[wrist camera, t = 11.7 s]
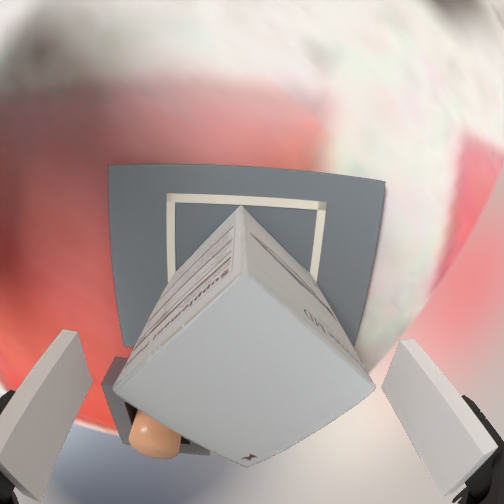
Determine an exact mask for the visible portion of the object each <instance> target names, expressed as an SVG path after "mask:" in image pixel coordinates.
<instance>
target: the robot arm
mask: <svg viewBox="0 0 504 504" xmlns="http://www.w3.org/2000/svg"><path fill="white" fill-rule="evenodd" d="M92 383H93V381H92V378H91V375H90V372H89V369H88V366H87V363H86V359H85V356H84V352H83V349H82V345H81V342H80V338H79V334H78V332H76V331H70V330H64V329H63V330H62V331H61V332H60V334H59V335H58V336H57V337H56V339H55V340H54V341H53V342H52V344H51V345H50V346H49V347H48V349H47V350H46V351H45V353H44V354H43V355H42V356H41V358H40V359H39V360H38V362H37V363H36V364H35V366H34V367H33V368H32V370H31V371H30V373H29V374H28V375H27V377H26V378H25V380H24V381H23V382H22V384H21V385H20V387H19V388H18V389H17V391H13V390H10V391H8V392H7V393H6V394H4V395H3V396H2V397H1V398H0V504H19V502H18V500H17V497H16V495H15V493H14V492H13V490H14V487H16V488H17V489H18V490H19V491H21V492H22V493H23V494H24V495H26V496H28V497H30V498H32V499H35V500H37V501H39V502H41V499H42V497H43V494H44V492H45V489H46V486H47V484H48V481H49V478H50V476H51V473H52V471H53V468H54V466H55V463H56V461H57V459H58V456H59V453H60V451H61V449H62V447H63V444H64V442H65V440H66V438H67V435H68V433H69V431H70V429H71V426H72V424H73V422H74V420H75V418H76V416H77V414H78V411H79V409H80V407H81V405H82V403H83V401H84V399H85V397H86V395H87V393H88V391H89V389H90V387H91V385H92ZM382 390H383V391H384V393H385V395H386V397H387V398H388V400H389V402H390V404H391V405H392V407H393V409H394V411H395V413H396V414H397V416H398V418H399V420H400V422H401V423H402V425H403V427H404V429H405V431H406V433H407V434H408V436H409V438H410V440H411V442H412V444H413V446H414V447H415V449H416V451H417V453H418V455H419V457H420V459H421V461H422V463H423V465H424V466H425V469H426V471H427V473H428V474H429V476H430V478H431V480H432V482H433V484H434V486H435V488H436V490H437V492H438V494H439V497H440V498H442V497H444V496H447V495H448V494H450V493H453V492H454V491H456V490H457V489H458V488H459V487H460V486H461V485H463V484H464V483H465V484H466V486H467V487H466V488H464V489H463V490H462V491H461V492H460V493H459V494H458V495H457V496H456V497H455V498H454V499H453V501H452V503H454V502H456V501H457V500H458V499H459V498H460V497H462V498H461V500H460V501H459V502H458V504H504V441H503V440H502V439H501V437H500V436H499V434H498V433H497V432H496V430H495V429H494V428H493V426H492V425H491V424H490V422H489V421H488V420H487V419H485V418H486V417H485V416H484V414H483V413H482V412H480V409H479V408H478V407H477V405H476V404H475V403H474V402H473V401H472V400H470V399H469V398H468V397H466V396H465V395H463V396H460V394H459V393H458V392H457V391H456V389H455V388H454V387H453V386H452V384H451V383H450V382H449V380H448V379H447V378H446V377H445V376H444V374H443V373H442V372H441V371H440V369H439V368H438V367H437V366H436V364H435V363H434V362H433V361H432V360H431V358H430V357H429V356H428V355H427V354H426V352H425V351H423V349H422V348H421V347H420V345H419V344H418V343H417V342H416V341H415V340H414V339H405V340H400V341H399V343H398V346H397V349H396V352H395V354H394V357H393V360H392V362H391V365H390V367H389V370H388V372H387V375H386V377H385V380H384V382H383V384H382Z"/></svg>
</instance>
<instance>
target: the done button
mask: <svg viewBox="0 0 504 504" xmlns="http://www.w3.org/2000/svg"><path fill="white" fill-rule="evenodd" d="M180 441H181V435H180V434H178V433H176V432H174V431H172V430H171V429H169V428H167V427H166V426H164V425H162V424H160V423H159V422H157V421H156V420H154V419H152V418H151V417H149V416H148V415H146V414H145V413H143V412H142V411H140V410H137V413H136V416H135V419H134V422H133V425H132V428H131V432H130V435H129V442H130V444H131V446H132V447H133V448H135V449H136V450H137V451H138V452H140V453H142V454H144V455H146V456H149V457H152V458H157V459H170V458H173V457H175V456H177V455H178V453H179V448H180Z"/></svg>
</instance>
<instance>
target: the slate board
mask: <svg viewBox="0 0 504 504" xmlns="http://www.w3.org/2000/svg"><path fill="white" fill-rule="evenodd" d="M384 189H385V181H381V180H374V179H368V178H361V177H353V176H346V175H338V174H329V173H321V172H311V171H301V170H290V169H278V168H265V167H250V166H231V165H203V164H131V165H109V166H108V205H109V230H110V245H111V258H112V268H113V278H114V287H115V295H116V302H117V309H118V316H119V322H120V328H121V334H122V340H123V345H124V347H131V348H134V346H135V344H136V342H137V341H138V339H139V337H140V335H141V333H142V331H143V329H144V327H145V325H146V323H147V321H148V319H149V317H150V315H151V313H152V311H153V310H154V308H155V306H156V304H157V302H158V300H159V298H160V297H161V295H162V293H163V291H164V289H165V288H166V286H167V285H168V283H169V281H170V279H171V278H172V276H173V275H174V273H175V272H176V271H177V270H178V269H179V268H180V267H181V266H182V265H183V264H184V263H185V262H186V261H187V259H188V258H189V257H190V256H191V255H192V254H193V253H194V252H195V251H196V250H197V249H198V248H199V247H200V246H201V245H202V244H203V243H204V242H205V241H206V240H207V239H208V238H209V237H210V236H211V235H212V234H213V233H214V232H215V231H216V230H217V229H218V228H219V227H220V226H221V225H222V223H223V222H224V221H225V220H226V219H227V218H228V217H229V216H230V215H231V214H232V213H233V212H234V211H235V210H236V209H237V208H238V207H239V206H240V205H242V206H243V207H244V208H245V209H246V210H247V211H248V212H249V213H250V214H251V215H252V216H253V217H254V218H255V220H256V221H257V222H258V223H259V224H260V225H261V226H262V227H263V228H264V229H265V230H266V231H267V232H268V233H269V234H270V235H271V236H272V237H273V238H274V239H275V240H276V241H277V242H278V243H279V244H280V245H281V246H282V247H283V248H284V249H285V250H286V251H287V252H288V253H289V254H290V255H291V256H292V257H293V258H294V259H295V260H296V261H297V262H298V263H299V264H301V265H302V266H303V267H304V268H305V269H306V270H307V271H308V272H309V273H310V274H311V275H312V277H313V279H314V280H315V282H316V284H317V285H318V287H319V289H320V290H321V292H322V294H323V295H324V297H325V299H326V300H327V302H328V304H329V305H330V307H331V309H332V311H333V312H334V314H335V316H336V318H337V319H338V321H339V323H340V325H341V326H342V328H343V330H344V332H345V333H346V335H347V337H348V339H349V340H350V342H351V344H352V346H353V347H354V343H355V340H356V336H357V332H358V328H359V325H360V321H361V317H362V313H363V308H364V304H365V300H366V295H367V291H368V286H369V282H370V277H371V272H372V267H373V262H374V256H375V251H376V245H377V239H378V233H379V227H380V220H381V213H382V206H383V198H384Z"/></svg>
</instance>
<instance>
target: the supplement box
mask: <svg viewBox="0 0 504 504" xmlns="http://www.w3.org/2000/svg"><path fill="white" fill-rule="evenodd" d="M375 388H376V387H375V385H374V383H373V381H372V380H371V378H370V376H369V374H368V372H367V371H366V369H365V367H364V365H363V363H362V362H361V360H360V358H359V356H358V355H357V353H356V351H355V349H354V348H353V346H352V344H351V342H350V340H349V339H348V337H347V335H346V333H345V332H344V330H343V328H342V326H341V325H340V323H339V321H338V319H337V318H336V316H335V314H334V312H333V311H332V309H331V307H330V305H329V304H328V302H327V300H326V299H325V297H324V295H323V294H322V292H321V290H320V289H319V287H318V285H317V284H316V282H315V280H314V279H313V277H312V275H311V274H310V273H309V272H308V271H307V270H306V269H305V268H304V267H303V266H302V265H301V264H299V263H298V262H297V261H296V260H295V259H294V258H293V257H292V256H291V255H290V254H289V253H288V252H287V251H286V250H285V249H284V248H283V247H282V246H281V245H280V244H279V243H278V242H277V241H276V240H275V239H274V238H273V237H272V236H271V235H270V234H269V233H268V232H267V231H266V230H265V229H264V228H263V227H262V226H261V225H260V224H259V223H258V222H257V221H256V220H255V218H254V217H253V216H252V215H251V214H250V213H249V212H248V211H247V210H246V209H245V208H244V207H243V206H242V205H240V206H239V207H238V208H237V209H236V210H235V211H234V212H233V213H232V214H231V215H230V216H229V217H228V218H227V219H226V220H225V221H224V222H223V223H222V225H221V226H220V227H219V228H218V229H217V230H216V231H215V232H214V233H213V234H212V235H211V236H210V237H209V238H208V239H207V240H206V241H205V242H204V243H203V244H202V245H201V246H200V247H199V248H198V249H197V250H196V251H195V252H194V253H193V254H192V255H191V256H190V257H189V258H188V259H187V261H186V262H185V263H184V264H183V265H182V266H181V267H180V268H179V269H178V270H177V271H176V272H175V273H174V275H173V276H172V278H171V279H170V281H169V283H168V285H167V286H166V288H165V289H164V291H163V293H162V295H161V297H160V298H159V300H158V302H157V304H156V306H155V308H154V310H153V311H152V313H151V315H150V317H149V319H148V321H147V323H146V325H145V327H144V329H143V331H142V333H141V335H140V337H139V339H138V341H137V342H136V344H135V346H134V348H133V350H132V352H131V354H130V356H129V358H128V360H127V362H126V364H125V366H124V368H123V370H122V371H121V373H120V375H119V377H118V378H117V380H116V382H115V383H114V385H113V391H114V392H115V393H116V394H117V395H118V396H119V397H120V398H122V399H123V400H125V401H126V402H128V403H129V404H131V405H132V406H134V407H135V408H137V409H138V410H140V411H142V412H143V413H145V414H146V415H148V416H149V417H151V418H152V419H154V420H156V421H157V422H159V423H160V424H162V425H164V426H166V427H167V428H169V429H171V430H172V431H174V432H176V433H178V434H180V435H181V436H183V437H184V438H186V439H188V440H190V441H192V442H194V443H196V444H198V445H200V446H202V447H204V448H206V449H208V450H210V451H212V452H214V453H216V454H219V455H220V456H222V457H225V458H227V459H229V460H231V461H233V462H236V463H238V464H240V465H242V466H244V467H250V466H252V465H255V464H257V463H260V462H262V461H264V460H266V459H268V458H270V457H272V456H274V455H276V454H278V453H280V452H282V451H284V450H285V449H287V448H289V447H291V446H293V445H294V444H296V443H298V442H300V441H301V440H303V439H305V438H306V437H308V436H310V435H311V434H313V433H315V432H316V431H318V430H320V429H321V428H323V427H324V426H326V425H327V424H329V423H330V422H332V421H333V420H335V419H336V418H338V417H339V416H341V415H342V414H344V413H345V412H347V411H348V410H349V409H351V408H353V407H354V406H355V405H357V404H358V403H359V402H361V401H362V400H363V399H365V398H366V397H367V396H368V395H369V394H371V393H372V392H373V391H374V390H375Z"/></svg>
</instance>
